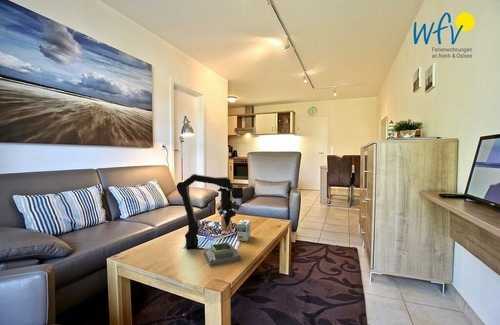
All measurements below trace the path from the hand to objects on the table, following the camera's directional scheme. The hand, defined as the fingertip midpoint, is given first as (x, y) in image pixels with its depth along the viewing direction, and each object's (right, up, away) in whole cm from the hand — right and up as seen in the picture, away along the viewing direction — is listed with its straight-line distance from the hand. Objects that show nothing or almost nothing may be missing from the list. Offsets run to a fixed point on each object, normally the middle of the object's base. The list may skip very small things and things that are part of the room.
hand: (225, 224), depth 140 cm
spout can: (0, -3, 0) cm, 3 cm away
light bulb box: (+10, -13, +14) cm, 22 cm away
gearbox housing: (-1, -14, -14) cm, 19 cm away
